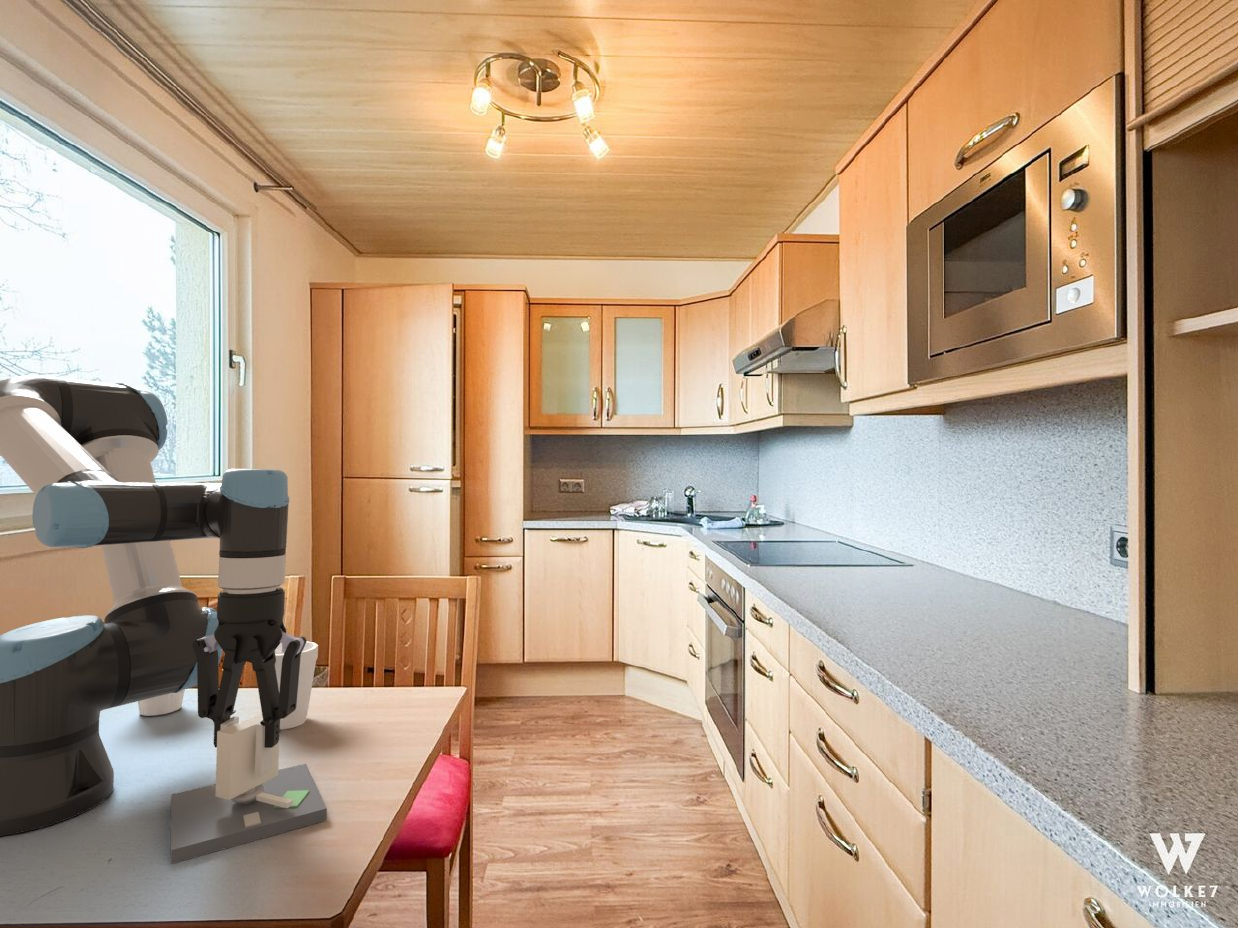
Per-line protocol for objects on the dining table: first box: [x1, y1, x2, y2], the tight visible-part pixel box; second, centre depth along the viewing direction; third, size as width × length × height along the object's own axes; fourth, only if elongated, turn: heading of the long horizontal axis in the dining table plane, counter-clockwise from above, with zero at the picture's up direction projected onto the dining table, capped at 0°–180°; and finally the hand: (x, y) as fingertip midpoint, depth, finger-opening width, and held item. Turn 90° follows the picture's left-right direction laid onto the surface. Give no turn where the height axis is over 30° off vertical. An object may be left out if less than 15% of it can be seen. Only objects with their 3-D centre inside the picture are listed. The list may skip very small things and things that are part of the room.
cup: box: [137, 689, 186, 717], centre depth 115 cm, size 10×10×13 cm
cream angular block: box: [215, 713, 293, 808], centre depth 80 cm, size 7×9×10 cm
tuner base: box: [170, 763, 328, 864], centre depth 81 cm, size 16×15×2 cm
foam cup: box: [275, 640, 319, 731], centre depth 111 cm, size 10×9×13 cm
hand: (245, 771), depth 81 cm, fingers closed on cream angular block, 4 cm apart
